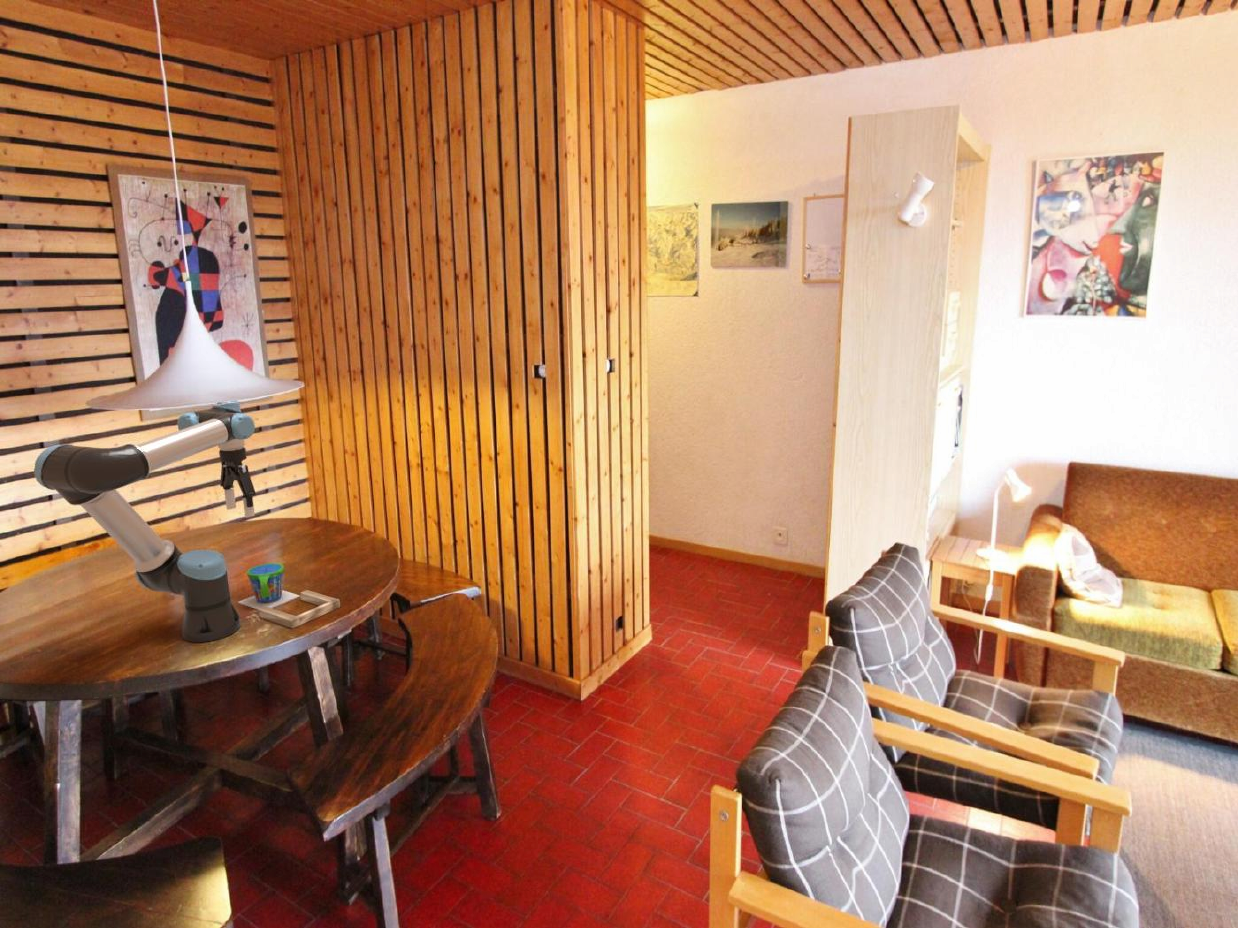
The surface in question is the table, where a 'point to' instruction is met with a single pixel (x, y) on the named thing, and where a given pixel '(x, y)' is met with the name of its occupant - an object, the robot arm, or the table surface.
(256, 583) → the snack cup
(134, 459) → the robot arm
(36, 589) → the table surface
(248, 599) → the grey mat
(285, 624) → the wooden frame
